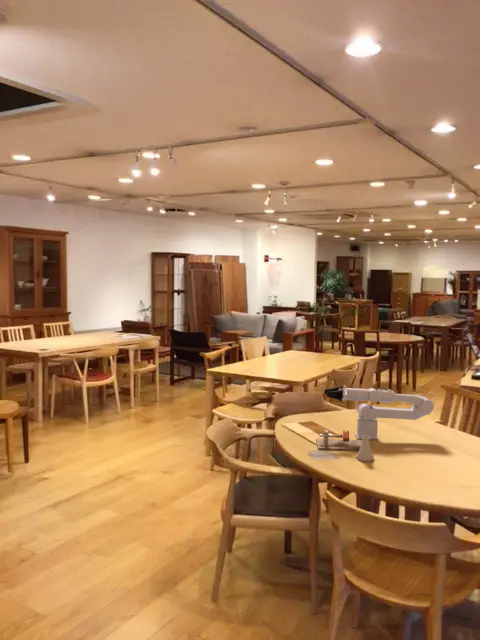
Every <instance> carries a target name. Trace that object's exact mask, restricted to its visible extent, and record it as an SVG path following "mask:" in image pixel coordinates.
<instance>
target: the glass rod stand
mask: <svg viewBox="0 0 480 640" xmlns="http://www.w3.org/2000/svg"><path fill="white" fill-rule="evenodd" d="M318 436H319V437H320V438H324V437H325V434H324V433H320V434H319V435H318ZM328 438H337V439H338V438H339V439H340V438H341V439H342V440H343V442H349V440H350V431H349V430H342V434H337V433H335V434H334V433H333V434H332V433H328Z"/></svg>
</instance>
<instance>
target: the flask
mask: <svg viewBox="0 0 480 640" xmlns="http://www.w3.org/2000/svg"><path fill="white" fill-rule="evenodd" d="M362 438H363V439H361V440H362V445H361V447H360V450H359V451H357V452H358V453H357V455H356V456H355V458H356V459H357V460H358V461H361V462H372V461H374V460H375V457H374V454H373V452H372V449H371V444H370V439H369V438H370V436H367V435H364V436H362Z"/></svg>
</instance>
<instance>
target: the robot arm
mask: <svg viewBox="0 0 480 640" xmlns="http://www.w3.org/2000/svg"><path fill="white" fill-rule="evenodd" d="M324 395H326V397H327V398H329V399H335V400H337V401H339V402H342V401H361V402H363V403H359V405H357V409H356V410H357V411H356V412H357V413H358V416H357V419H356V421H357V427H356V433H355V434H354V435H355V438H357V439H356V440H363V438H362V436H364V435H367V436H370V438H369V440H378V427H379V426H378V420H377V419H392V420H393V419H394V420H409V421H410V420H413V421H416V420H418V419H421V418H423V417H425V416H429V415H430V414H431V413H432V412H433V411H434V408H435V403H434V402H433V401H432V400H431V399H429V398H428V397H426V396H425V395H420V394H419V395H418V394H405V393H404V394H403V393H396V392H395V391H393V390H392V389H389V388H388V389H387V390H384V389H381V388H377V389H375V388H373V387H369V388H354V387H353V388H351V387H346V385H343V387H342V388H340V386H338V385H337V386H335V387H331V388H325V389H324ZM364 401H366V402H372V403H375V404H377V403H378V402H380V403H387V404H389V403H390V404H393V403H394V402H401V403H402V402H403V403H411V404H413V406H412V407H411V408H396V407H381V406H374V405H369V404H367V403H364Z"/></svg>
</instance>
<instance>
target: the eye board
mask: <svg viewBox="0 0 480 640" xmlns="http://www.w3.org/2000/svg"><path fill="white" fill-rule="evenodd" d="M323 434H325V437H323V438H315V443H316V446H317V450H320V451H325V450H326V451H348V452H351V451H352V452H359V450H360V447H361V445H362V440H363V439H349V442H343V439H338V438H337V439H335V438H333V439H331V438H329V437H328V434H329V429H323Z"/></svg>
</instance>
